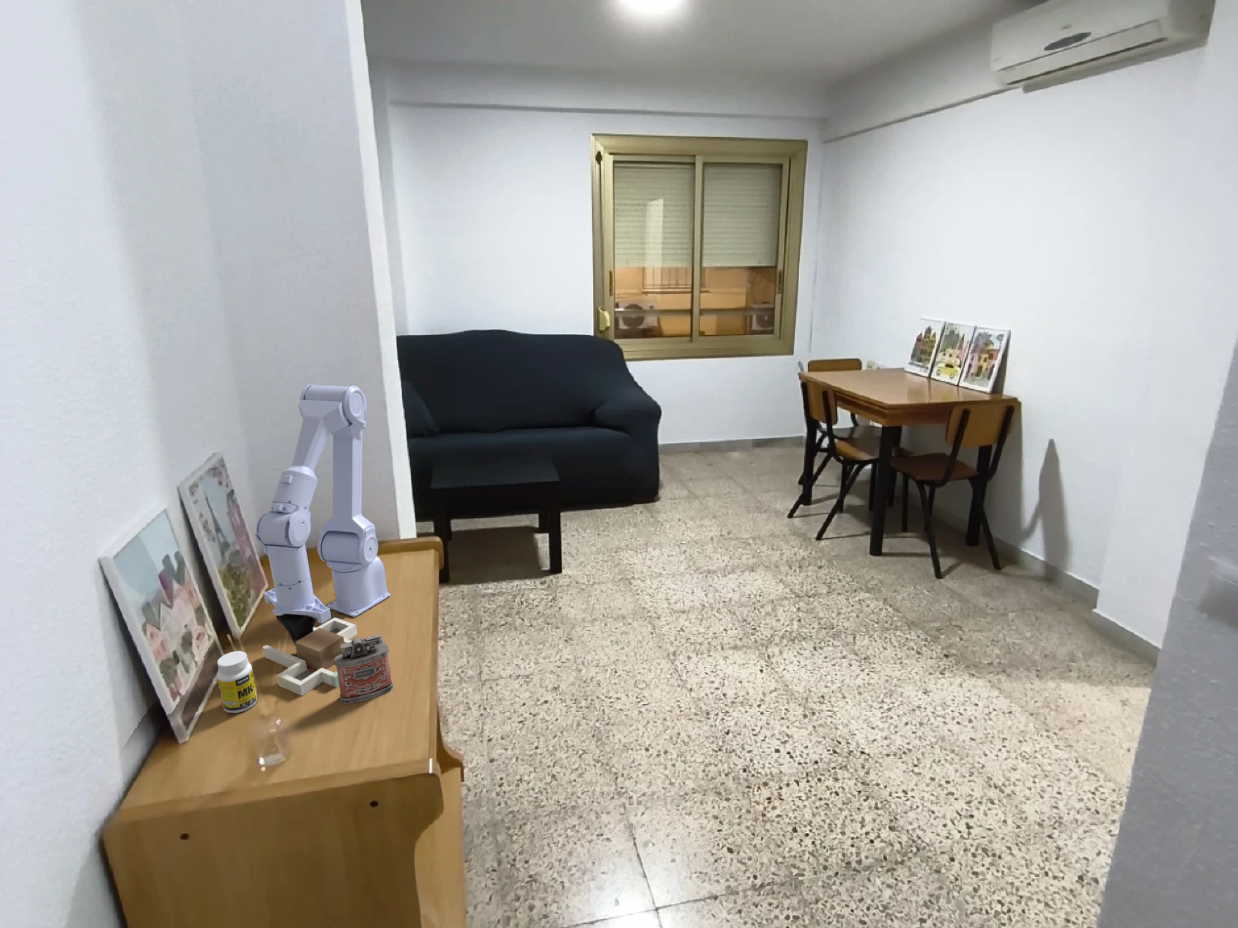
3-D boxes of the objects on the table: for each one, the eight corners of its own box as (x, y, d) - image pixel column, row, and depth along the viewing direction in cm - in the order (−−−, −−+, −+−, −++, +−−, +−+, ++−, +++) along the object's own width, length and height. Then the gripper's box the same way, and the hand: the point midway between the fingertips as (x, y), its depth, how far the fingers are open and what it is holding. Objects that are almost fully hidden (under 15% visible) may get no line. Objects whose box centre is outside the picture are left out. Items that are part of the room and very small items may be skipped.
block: (322, 646, 120) (319, 627, 118) (346, 656, 117) (343, 636, 116) (298, 661, 115) (295, 641, 114) (322, 671, 113) (319, 651, 111)
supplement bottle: (243, 715, 102) (233, 669, 100) (217, 711, 103) (206, 665, 101) (265, 696, 107) (256, 651, 104) (239, 692, 108) (229, 647, 105)
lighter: (341, 706, 104) (332, 652, 101) (339, 694, 107) (330, 640, 104) (394, 691, 108) (388, 638, 105) (391, 679, 111) (384, 627, 108)
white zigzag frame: (324, 622, 127) (322, 613, 127) (394, 647, 119) (392, 637, 119) (242, 669, 113) (240, 659, 113) (315, 701, 105) (313, 691, 105)
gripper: (242, 578, 113) (256, 646, 118) (300, 598, 107) (312, 670, 111) (279, 561, 119) (291, 627, 123) (336, 579, 113) (346, 648, 117)
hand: (304, 646), depth 118 cm, fingers closed
